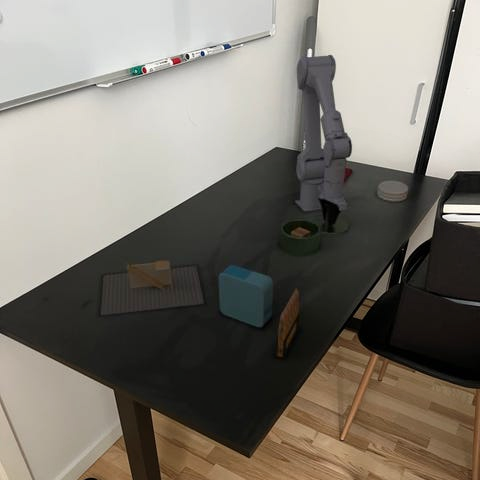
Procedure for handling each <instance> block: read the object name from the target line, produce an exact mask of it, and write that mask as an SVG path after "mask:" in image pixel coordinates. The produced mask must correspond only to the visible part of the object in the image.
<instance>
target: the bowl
mask: <svg viewBox="0 0 480 480" xmlns="http://www.w3.org/2000/svg"><path fill="white" fill-rule="evenodd" d="M299 227H300V228H303V229H305V230H307V231H310V237H306V238H299V237H293V236H290V235H291V232H292V231H293V230H295V229H297V228H299ZM321 234H322V233H321V229H320V226H319V225H318V224H316V223H314V222H312V221H310V220H308V219H302V218H301V219H297V218H296V219H290V220H287V221H285V222H284V223H282V225H281V226H280V238H279V239H280V240H279V242H280V243H279V245H280V247H281V248H282V249H283V250H285V251H286V252H288V253H292V254H297V255H298V254H299V255H304V254H309V253H313V252H315V251H317V250H318V249H319V247H320V243H321Z"/></svg>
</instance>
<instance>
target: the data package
mask: <svg viewBox="0 0 480 480" xmlns="http://www.w3.org/2000/svg"><path fill="white" fill-rule="evenodd" d="M218 295H219V310H220V312H221V314H222V315H224V316H226V317H229V318H232V319H233V320H237V321H240V322H242V323H245V324H248V325H249V326H253V327H256V328H262V327H264V325H265V324H266V323H267V322H268V321H269V320H270V319H271V317H272V316H273V301H274V299H273V297H274V281H273V278H271V276H269V275H266V274H263V273H260V272H256V271H253V270H250V269H247V268H245V267H240V266H237V265H234V264H229V266H227V268H225V269H224V270H223V271H222V272H221V273H220V274H218Z"/></svg>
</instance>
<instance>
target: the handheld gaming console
mask: <svg viewBox="0 0 480 480" xmlns="http://www.w3.org/2000/svg"><path fill="white" fill-rule="evenodd" d="M352 172H353V169H352V168H348V167H346V168H345V176H344V183H345V182H346V180H348V178H349V177H350V175H351V174H352Z"/></svg>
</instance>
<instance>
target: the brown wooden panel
mask: <svg viewBox="0 0 480 480" xmlns="http://www.w3.org/2000/svg"><path fill="white" fill-rule="evenodd" d="M299 299H300V297H299V289H298V288H297V287H296V288H295V290H294V292H292V295H291V297H290V298H289V300H288V302H287V304H286V306H285V307H284V309H283V311H282V312H281V314H280V318H279V323H278V324H279V325H278V333H277V337H276V343H275V344H276V345H275V357H277V358H280V359H285V357H286V355H287V353H288V351H289V349H290V347H291V345H292V343H293V341H294V340H295V337H296V335H297V333H298V331H299V324H300V312H299V311H300V303H299Z"/></svg>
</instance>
